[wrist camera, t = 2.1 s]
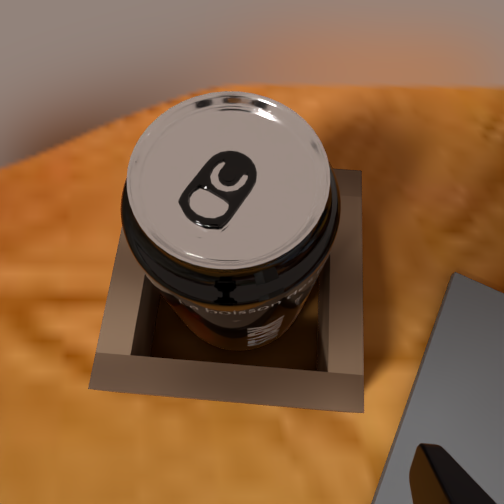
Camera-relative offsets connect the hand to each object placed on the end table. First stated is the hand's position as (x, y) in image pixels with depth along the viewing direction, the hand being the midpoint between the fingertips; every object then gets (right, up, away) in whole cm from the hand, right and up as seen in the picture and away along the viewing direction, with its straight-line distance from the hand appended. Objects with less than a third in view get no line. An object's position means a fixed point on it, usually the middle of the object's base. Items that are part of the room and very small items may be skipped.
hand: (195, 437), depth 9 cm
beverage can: (0, +2, +14) cm, 14 cm away
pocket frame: (0, +2, +14) cm, 14 cm away
